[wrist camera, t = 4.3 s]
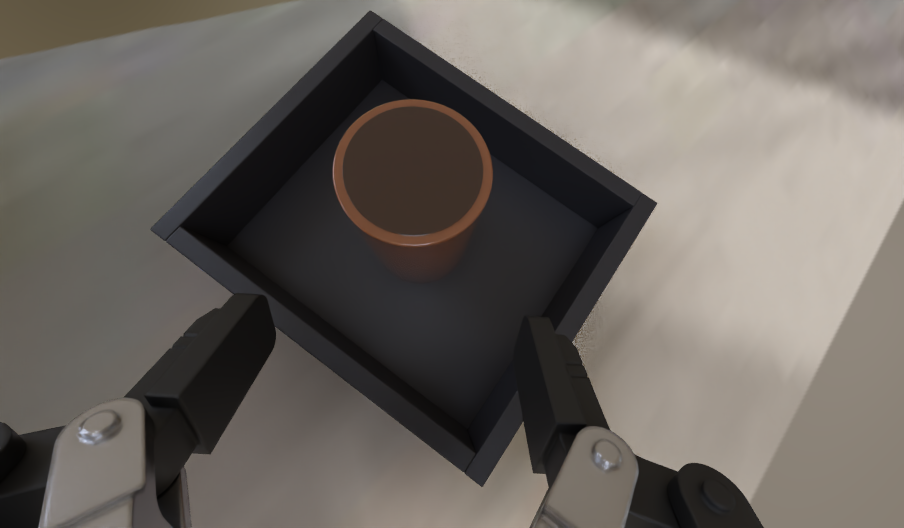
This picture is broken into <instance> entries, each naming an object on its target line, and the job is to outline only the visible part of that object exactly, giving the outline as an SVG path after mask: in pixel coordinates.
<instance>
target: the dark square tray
mask: <svg viewBox="0 0 904 528" xmlns="http://www.w3.org/2000/svg"><path fill="white" fill-rule="evenodd" d="M409 99H416V100H426V101H431V102H435V103H438V104H441V105H444V106H446V107H448V108H451V109H453V110H454V111H456V112H458V113H459V114H461V115H462V116H463V117H465V118H466V119H467V120H468V121H469V122H470V123H471V124H472V125H473V126H474V127H475V128H476V129H477V131H478V132H479V133H480V134H481V136H482V138H483V139H484V141H485V143H486V145H487V148H488V150H489V153H490V156H491V160H492V167H493V182H492V189H491V192H490V196H489V199H488V201H487V204H486V206H485V208H484V210H483V213H482V215H481V217H480V220H479V222H478V224H477V227H476V229H475V231H474V234H473V236H472V238H471V241H470V243H469V245H468V248H467V250H466V252H465V254H464V257H463V259H462V260H461V262H460V264H459V265H458V266H457V267H456V268H455V270H453V271H452V272H451V273H450V274H449V275H447V276H446V277H444V278H442V279H440V280H437V281H435V282H431V283H424V284H416V283H409V282H406V281H403V280H400V279H398V278H396V277H395V276H393V275H391V274H390V273H389V272H388V271H387V270H386V269H385V268H384V267H383V266H382V265H381V263H380V262H379V261H378V259H377V258H376V256H375V255H374V253H373V252H372V251H371V249H370V248H369V246H368V245H367V243H366V242H365V241H364V239H363V238H362V236H361V235H360V233H359V232H358V231H357V229H356V228H355V226H354V225H353V223H352V222H351V221H350V219H349V218H348V216H347V215H346V213H345V212H344V210H343V209H342V207H341V205H340V203H339V201H338V199H337V196H336V193H335V190H334V185H333V176H332V168H333V160H334V156H335V153H336V149H337V147H338V145H339V142H340V140H341V139H342V137H343V135H344V134H345V132H346V131H347V130H348V128H349V127H350V126H351V125H352V124H353V123H354V122H355V121H356V120H357V119H358V118H359V117H361V116H362V115H363V114H365V113H366V112H368V111H370V110H372V109H373V108H375V107H378V106H380V105H383V104H385V103H389V102H393V101H398V100H409ZM656 205H657V203H656V202H655V201H653V200H652V199H650V198H649V197H647V196H646V195H644V194H643V193H642V192H640V191H639V190H637V189H636V188H634V187H633V186H631V185H630V184H628V183H627V182H625V181H624V180H622V179H621V178H619V177H618V176H616V175H615V174H613V173H612V172H610V171H609V170H607V169H606V168H604V167H603V166H601V165H600V164H598V163H597V162H595V161H594V160H592V159H591V158H589V157H588V156H587V155H585V154H584V153H582V152H581V151H579V150H578V149H576V148H575V147H573V146H572V145H570V144H569V143H567V142H566V141H564V140H563V139H561V138H560V137H558V136H557V135H555V134H554V133H552V132H551V131H549V130H548V129H546V128H545V127H543V126H542V125H540V124H539V123H537V122H536V121H534V120H533V119H532V118H530V117H529V116H527V115H526V114H524V113H523V112H521V111H520V110H518V109H517V108H515V107H514V106H512V105H511V104H509V103H508V102H506V101H505V100H503V99H502V98H500V97H499V96H497V95H496V94H494V93H493V92H491V91H490V90H488V89H487V88H485V87H484V86H482V85H481V84H479V83H478V82H477V81H475V80H474V79H472V78H471V77H469V76H468V75H466V74H465V73H463V72H462V71H460V70H459V69H457V68H456V67H454V66H453V65H451V64H450V63H448V62H447V61H445V60H444V59H442V58H441V57H439V56H438V55H436V54H435V53H433V52H432V51H430V50H429V49H427V48H426V47H424V46H423V45H422V44H420V43H419V42H417V41H416V40H414V39H413V38H411V37H410V36H408V35H407V34H405V33H404V32H402V31H401V30H399V29H398V28H396V27H395V26H393V25H392V24H390V23H389V22H387V21H386V20H384V19H382V18H381V17H379V16H378V15H377V14H375V13H374V12H372V11H369V12H368V13H367V14H366V15H365V16H364V17H363V18H362V19H361V20H360V21H359V22H358V23H357V24H356V25H355V26H354V27H353V28H352V29H351V30H350V31H349V32H348V33H347V34H346V35H345V36H344V37H343V38H342V39H341V40H340V41H339V42H338V43H337V44H336V45H335V46H334V47H333V48H332V49H331V50H330V51H329V52H328V53H327V54H326V55H325V56H324V57H323V58H322V59H321V60H320V61H319V62H318V63H317V64H316V65H315V66H314V67H313V68H312V69H311V70H310V71H308V72H307V73H306V74H305V75H304V76H303V77H302V78H301V79H300V80H299V81H298V82H297V83H296V84H295V85H294V86H293V87H292V88H291V89H290V90H289V91H288V92H287V93H286V94H285V95H284V96H283V97H282V98H281V99H280V100H279V101H278V102H277V103H276V104H275V105H274V106H273V107H272V108H271V109H270V110H269V111H268V112H267V113H266V114H265V115H264V116H263V117H262V118H261V119H260V120H259V121H258V122H257V123H256V124H255V125H254V126H253V127H252V128H251V129H250V130H249V131H248V132H247V133H246V134H245V135H244V136H243V137H242V138H241V139H240V140H239V141H238V142H237V143H236V144H235V145H234V146H233V147H232V148H231V149H230V150H229V151H228V152H227V153H226V154H225V155H224V156H223V157H222V158H221V159H220V160H219V161H218V162H217V163H216V164H215V165H214V166H213V167H212V168H211V169H210V170H209V171H208V172H207V173H206V174H205V175H204V176H203V177H202V178H201V179H200V180H199V181H198V182H197V183H196V184H195V185H194V186H193V187H192V188H191V189H190V190H189V191H188V192H187V193H186V194H185V195H184V196H183V197H182V198H181V199H180V200H179V201H178V202H177V203H176V204H175V205H174V206H173V207H172V208H171V209H170V210H169V211H168V212H167V213H166V214H165V215H164V216H163V217H162V218H161V219H160V220H159V221H158V222H157V223H156V224H155V225H154V226H153V227H152V228H151V231H153V232H154V233H155V234H156V235H158V236H159V237H160V238H162V239H163V240H164V241H166V242H167V243H168V244H169V245H171V246H172V247H173V248H175V249H176V250H177V251H178V252H180V253H181V254H182V255H184V256H185V257H186V258H188V259H189V260H190V261H191V262H193V263H194V264H195V265H197V266H198V267H199V268H200V269H202V270H203V271H204V272H206V273H207V274H208V275H209V276H211V277H212V278H213V279H215V280H216V281H217V282H218V283H220V284H221V285H222V286H224V287H225V288H226V289H228V290H229V291H230V292H231V293H233V294H235V293H248V294H261V295H265V296H266V298H267V300H268V303H269V307H270V311H271V315H272V319H273V322H274V326H275V327H277V328H278V329H279V330H280V331H282V332H283V333H284V334H286V335H287V336H288V337H289V338H291V339H292V340H293V341H295V342H296V343H297V344H298V345H300V346H301V347H302V348H304V349H305V350H306V351H307V352H309V353H310V354H311V355H313V356H314V357H315V358H317V359H318V360H319V361H320V362H322V363H323V364H324V365H326V366H327V367H328V368H329V369H331V370H332V371H333V372H335V373H336V374H337V375H338V376H340V377H341V378H342V379H344V380H345V381H346V382H347V383H349V384H350V385H351V386H353V387H354V388H355V389H357V390H358V391H359V392H360V393H362V394H363V395H364V396H366V397H367V398H368V399H369V400H371V401H372V402H373V403H375V404H376V405H377V406H378V407H380V408H381V409H382V410H384V411H385V412H386V413H387V414H389V415H390V416H391V417H393V418H394V419H395V420H396V421H398V422H399V423H400V424H402V425H403V426H404V427H406V428H407V429H408V430H409V431H411V432H412V433H413V434H415V435H416V436H417V437H418V438H420V439H421V440H422V441H424V442H425V443H426V444H427V445H429V446H430V447H431V448H433V449H434V450H435V451H436V452H438V453H439V454H440V455H442V456H443V457H444V458H446V459H447V460H448V461H449V462H451V463H452V464H453V465H455V466H456V467H457V468H458V469H460V470H461V471H462V472H464V473H465V474H466V475H467V476H468V477H470V478H471V479H472V480H473V481H475V482H476V483H477V484H479V485H480V486H481V487H483V485H484V484H485V482H486V481H487V479H488V477H489V476H490V474H491V472H492V471H493V469H494V468H495V466H496V464H497V463H498V461H499V459H500V458H501V456H502V455H503V453H504V451H505V450H506V448H507V447H508V445H509V443H510V442H511V440H512V438H513V437H514V435H515V434H516V432H517V430H518V429H519V427H520V425H521V424H522V422H523V416H522V411H521V405H520V400H519V394H518V389H517V384H516V378H515V373H514V367H513V354H514V348H515V344H516V341H517V337H518V334H519V330H520V326H521V323H522V319H523V317H524V316H539V317H549V318H550V320H551V322H552V325H553V328H554V331H555V334H558V335H565V336H566V337H567V338H568V339H569V340H570V341H571V342H572V341H573V339H574V338H575V336H576V335H577V333H578V331H579V330H580V328H581V327H582V325H583V323H584V322H585V320H586V318H587V317H588V315H589V314H590V312H591V310H592V309H593V307H594V305H595V304H596V302H597V301H598V299H599V297H600V296H601V294H602V292H603V291H604V289H605V288H606V286H607V284H608V283H609V281H610V279H611V278H612V276H613V275H614V273H615V271H616V270H617V268H618V267H619V265H620V263H621V262H622V260H623V258H624V257H625V255H626V254H627V252H628V250H629V249H630V247H631V245H632V244H633V242H634V241H635V239H636V237H637V236H638V234H639V232H640V231H641V229H642V228H643V226H644V224H645V223H646V221H647V220H648V218H649V216H650V215H651V213H652V211H653V210H654V208H655V207H656Z"/></svg>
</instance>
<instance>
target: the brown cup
mask: <svg viewBox="0 0 904 528" xmlns="http://www.w3.org/2000/svg"><path fill="white" fill-rule="evenodd" d="M332 176H333V185H334V190H335V193H336V196H337V199H338V201H339V203H340V205H341V207H342V209H343V210H344V212H345V213H346V215H347V216H348V218H349V219H350V221H351V222H352V223H353V225H354V226H355V228H356V229H357V231H358V232H359V233H360V235H361V236H362V238H363V239H364V241H365V242H366V243H367V245H368V246H369V248H370V249H371V251H372V252H373V253H374V255H375V256H376V258H377V259H378V261H379V262H380V263H381V265H382V266H383V267H384V268H385V269H386V270H387V271H388V272H389V273H390V274H391V275H393V276H395V277H396V278H398V279H400V280H403V281H406V282H409V283H416V284H424V283H431V282H435V281H437V280H440V279H442V278H444V277H446V276H447V275H449V274H450V273H451V272H452V271H453V270H455V268H456V267H457V266H458V265H459V264H460V262H461V260H462V259H463V257H464V254H465V252H466V250H467V248H468V245H469V243H470V241H471V238H472V236H473V234H474V231H475V229H476V227H477V224H478V222H479V220H480V217H481V215H482V213H483V210H484V208H485V206H486V204H487V201H488V199H489V196H490V192H491V189H492V182H493V167H492V160H491V156H490V153H489V150H488V148H487V145H486V143H485V141H484V139H483V138H482V136H481V134H480V133H479V132H478V131H477V129H476V128H475V127H474V126H473V125H472V124H471V123H470V122H469V121H468V120H467V119H466V118H465V117H463V116H462V115H461V114H459V113H458V112H456V111H454V110H453V109H451V108H448V107H446V106H444V105H441V104H438V103H435V102H431V101H426V100H416V99H409V100H398V101H393V102H389V103H385V104H383V105H380V106H378V107H375V108H373V109H372V110H370V111H368V112H366V113H365V114H363V115H362V116H361V117H359V118H358V119H357V120H356V121H355V122H354V123H353V124H352V125H351V126H350V127H349V128H348V130H347V131H346V132H345V134H344V135H343V137H342V139H341V140H340V142H339V145H338V147H337V149H336V153H335V156H334V160H333V168H332Z"/></svg>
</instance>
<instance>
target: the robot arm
mask: <svg viewBox="0 0 904 528" xmlns="http://www.w3.org/2000/svg"><path fill="white" fill-rule="evenodd" d="M275 340H276V330H275V326H274V322H273V319H272V315H271V311H270V307H269V303H268V300H267V298H266V296H265V295H261V294H248V293H235V294H234V295H233V296H232V297H231V298H230V299H229V300H228V301H227V302H226V303H225V304H224V306H223V307H222V308H221V309H218V308H215V309H213V310H212V311H210V312H209V313H207V314H205V315H204V316H202V317H200V318H199V319H197V320H196V321H195V322H194V323H193V324H192V325H191V326H190V328H189V329H188V330H187V331H186V332H185V333H184V336H183V337H180V338H179V339H178V340H177V341H176V342H175V343H174V345H173V347H172V349H169V350H168V351H167V352H166V353H165V354H164V355H163V356H162V357H161V358H160V359H159V360H158V362H157V363H156V364H155V365H154V366H153V367H152V368H151V369H150V370H149V371H148V372H147V373H146V374H145V375H144V376H143V377H142V379H141V380H140V381H139V382H138V383H137V384H136V385H135V386H134V387H133V388H132V389H131V390H130V391H129V392H128V393H127V394H126V395H125V396H124V397H123V398H117V399H113V400H109V401H106V402H103V403H100V404H98V405H96V406H94V407H92V408H90V409H88V410H86V411H84V412H83V413H81V414H80V415H78V416H77V417H76V418H74V419H73V420H72V421H71V422H70V423H68V424H67V425H66V426H61V427H56V428H51V429H46V430H42V431H37V432H32V433H27V434H22V435H18V434H17V433H16V432H15V431H13V430H12V429H11V428H10V427H9V426H8V425H6V424H5V423H2V422H0V528H192V524H191V514H190V504H189V495H188V485H187V476H186V469H185V467H184V465H185V463H186V461H187V460H188V458H189V457H190V455H191V454H192V453H196V454H211V452H212V451H213V449H214V447H215V446H216V444H217V442H218V441H219V439H220V437H221V436H222V434H223V432H224V430H225V429H226V427H227V425H228V424H229V422H230V420H231V419H232V417H233V415H234V414H235V412H236V410H237V409H238V407H239V405H240V404H241V402H242V400H243V399H244V397H245V395H246V394H247V392H248V390H249V389H250V387H251V385H252V384H253V382H254V380H255V379H256V377H257V375H258V374H259V372H260V370H261V369H262V367H263V365H264V364H265V362H266V360H267V359H268V357H269V355H270V353H271V352H272V350H273V348H274V345H275ZM513 367H514V373H515V378H516V384H517V389H518V394H519V400H520V405H521V411H522V416H523V421H524V427H525V432H526V438H527V443H528V448H529V454H530V459H531V465H532V470H533V473H539V474H546V477H547V481H548V486H549V488H548V490H547V492H546V494H545V496H544V498H543V500H542V502H541V504H540V507H539V509H538V511H537V513H536V515H535V517H534V519H533V521H532V523H531V525H530V527H529V528H764V527H763V526H762V524H761V522H760V521H759V519H758V517H757V516H756V514H755V512H754V511H753V509H752V507H751V506H750V504H749V502H748V501H747V499H746V498H745V496H744V495H743V493H742V492H741V491H740V490H739V489H738V487H737V486H736V485H735V484H734V483H733V482H731V481H730V480H729V479H728V478H727V477H726V476H724V475H723V474H721V473H720V472H718V471H717V470H715V469H713V468H711V467H709V466H706V465H703V464H699V463H689V464H686V465H684V466H683V467H682V468H681V469H680V470H679V471H678V472H677V471H674V470H672V469H669V468H666V467H664V466H661V465H658V464H656V463H653V462H651V461H648V460H645V459H643V458H641V457H639V456H637V455H635V454H634V453H633V451H632V450H631V448H630V447H629V446H628V444H627V443H626V442H625V441H624V440H623V439H622V438H620V437H619V436H618V435H616V434H615V433H614V432H612V431H611V430H610V428H609V426H608V424H607V422H606V419H605V417H604V414H603V412H602V409H601V407H600V405H599V402H598V400H597V397H596V395H595V392H594V390H593V387H592V385H591V382H590V380H589V378H587V372H586V370H585V368H584V366H583V365H582V360H581V358H580V355H579V353H578V350H577V348H576V347H575V346H574V345H573V343H572V342H571V341H570V340H569V339H568V338H567V337H566V336H565V335H558V334H555V331H554V328H553V325H552V322H551V320H550V318H549V317H539V316H524V317H523V319H522V323H521V326H520V330H519V334H518V337H517V341H516V344H515V348H514V354H513Z"/></svg>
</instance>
